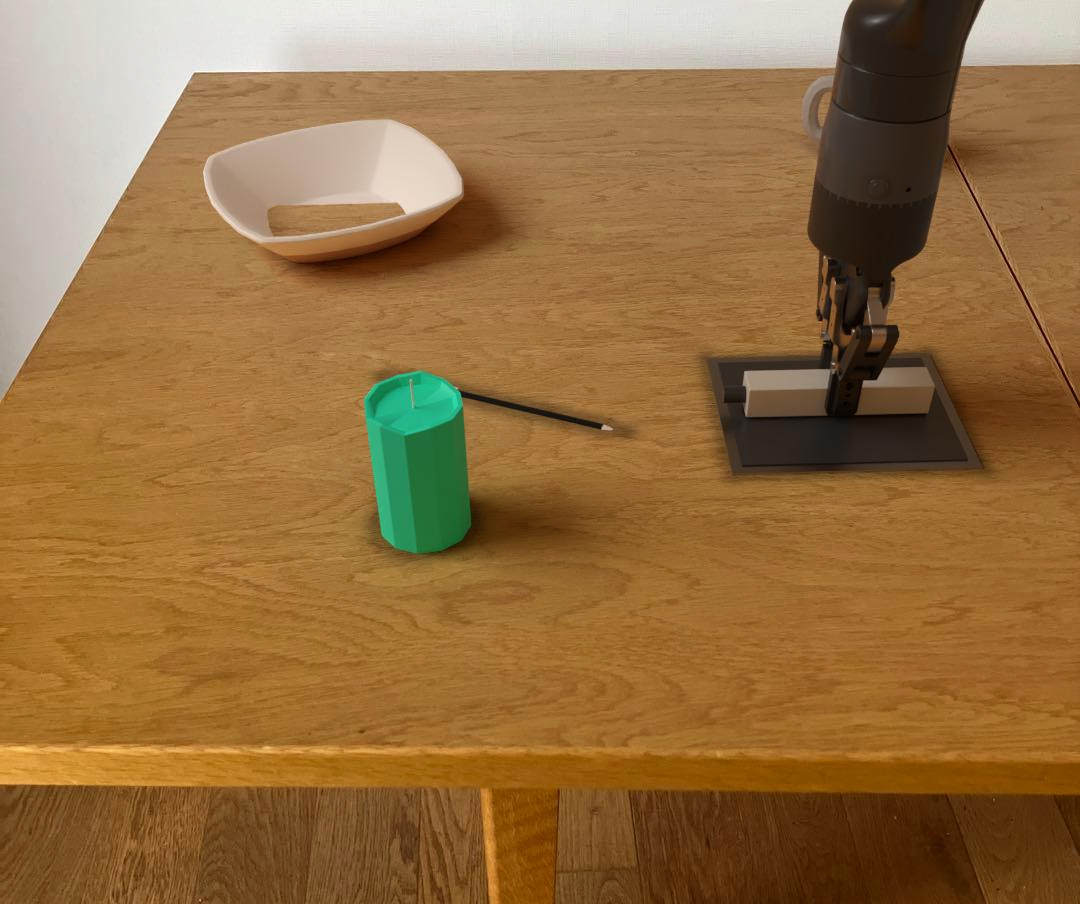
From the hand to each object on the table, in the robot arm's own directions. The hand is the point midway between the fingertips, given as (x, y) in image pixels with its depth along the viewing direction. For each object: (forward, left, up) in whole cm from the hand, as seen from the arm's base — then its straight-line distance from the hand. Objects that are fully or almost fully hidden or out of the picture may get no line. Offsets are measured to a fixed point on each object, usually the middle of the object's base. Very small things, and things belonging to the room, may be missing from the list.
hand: (835, 400), depth 86 cm
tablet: (0, 0, -2) cm, 2 cm away
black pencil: (+24, -2, -2) cm, 24 cm away
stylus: (0, 0, 0) cm, 0 cm away
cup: (-10, -43, -2) cm, 44 cm away
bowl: (+39, -31, -2) cm, 50 cm away
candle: (+29, +11, -2) cm, 31 cm away
